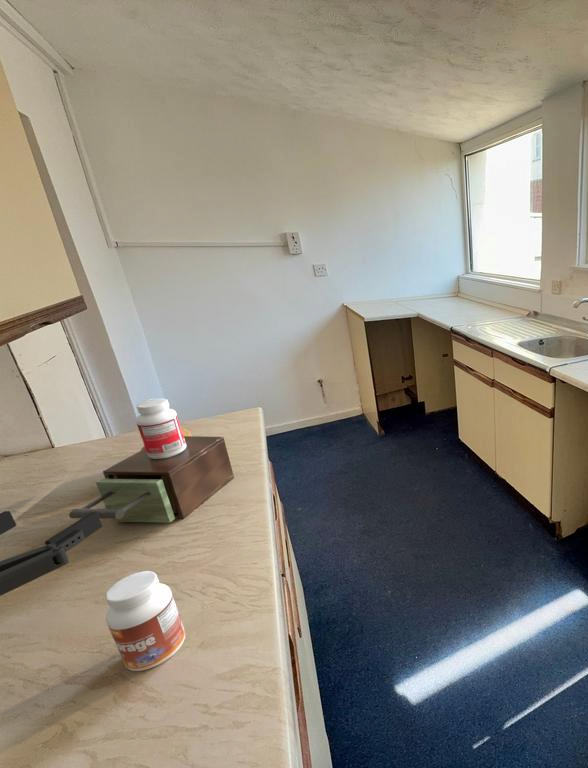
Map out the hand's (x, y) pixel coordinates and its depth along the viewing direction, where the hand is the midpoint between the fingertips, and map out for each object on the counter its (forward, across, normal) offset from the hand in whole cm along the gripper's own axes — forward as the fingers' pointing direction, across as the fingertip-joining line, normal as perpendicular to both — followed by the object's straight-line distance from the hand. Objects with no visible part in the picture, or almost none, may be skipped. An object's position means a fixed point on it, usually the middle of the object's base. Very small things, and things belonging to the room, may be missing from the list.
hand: (54, 518), depth 61 cm
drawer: (+15, 0, -10) cm, 18 cm away
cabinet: (+21, 0, -11) cm, 24 cm away
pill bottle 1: (+21, 0, 0) cm, 21 cm away
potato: (+34, -13, -11) cm, 38 cm away
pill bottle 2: (-13, +24, -11) cm, 29 cm away
